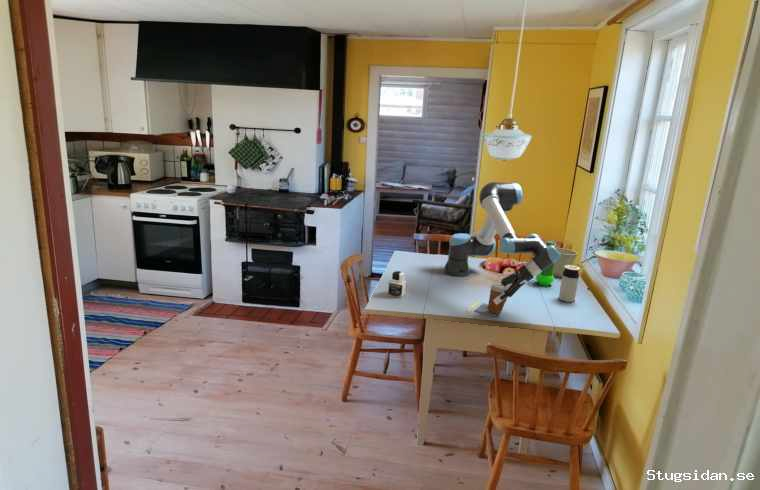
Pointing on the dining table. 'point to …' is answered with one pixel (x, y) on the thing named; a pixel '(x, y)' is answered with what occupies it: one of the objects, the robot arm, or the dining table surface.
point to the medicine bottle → (397, 285)
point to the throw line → (472, 307)
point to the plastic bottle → (546, 273)
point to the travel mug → (569, 283)
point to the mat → (485, 310)
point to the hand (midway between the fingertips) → (493, 297)
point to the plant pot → (563, 261)
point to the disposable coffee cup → (494, 293)
